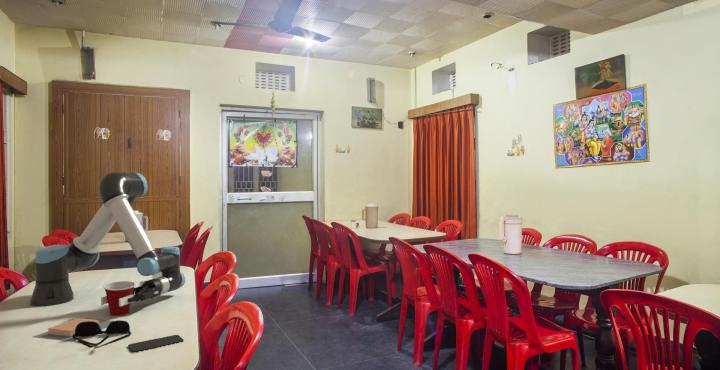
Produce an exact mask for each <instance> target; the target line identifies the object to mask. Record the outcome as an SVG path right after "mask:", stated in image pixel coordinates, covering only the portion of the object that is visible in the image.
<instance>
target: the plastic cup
mask: <svg viewBox="0 0 720 370" xmlns="http://www.w3.org/2000/svg"><path fill="white" fill-rule="evenodd" d="M135 286H136V283H135V282H133V281H130V280H128V281H127V280H123V281H121V280H120V281H113V282H109V283H106V284H104V285H103V287H102V288H103V289H104V291H105V296H107V300H108V303H107V305H108V310H109V313H110V316H112V317H118V316H123V315H127V314H129V313H130V306H131V303H129V304H126V305H123V306H119V299H121V298H124V297H127V296H130V295H132V292H133V289H134V288H135Z"/></svg>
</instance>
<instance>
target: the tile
mask: <svg viewBox="0 0 720 370" xmlns="http://www.w3.org/2000/svg"><path fill="white" fill-rule="evenodd" d="M92 319H93V318H90V319H85V318H82V317H81V318H80V317H78V318H73V319H72V320H69V321H65V322H63V323H60V324H57V325H54V326H51V327H48V329H47V330H48V331H47V332H48V334H49V335H55V336H64V337H72V336H73V334H75V328H76V326H77V325H78V324H79V323H81V322H86V321H94V322H97V323H98V324H99V320H92Z"/></svg>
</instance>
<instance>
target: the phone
mask: <svg viewBox="0 0 720 370" xmlns="http://www.w3.org/2000/svg"><path fill="white" fill-rule="evenodd" d="M179 342H181V343H183V342H184V339H183V338H182V336H180V335H179V334H174V335H173V334H172V335H168V336H163V337H158V338H154V339H149V340H143V341H139V342H138V341H137V342H134V343H130V344H127V345H128V346H127V348H128V349H129V351H130V352H131V353H132V352H136V353H139V351H141V352H144V350H145V351H149V349H150V350H154V349H158V347H159V348H163V347H167V346H166V345H168V346H172V345H176V344H180V343H179ZM175 343H176V344H175ZM171 344H172V345H171ZM162 346H163V347H162Z"/></svg>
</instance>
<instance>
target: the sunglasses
mask: <svg viewBox="0 0 720 370" xmlns="http://www.w3.org/2000/svg"><path fill="white" fill-rule="evenodd" d="M111 321H112V322H111V323H110V324H109V325H108V327H107V328H105V330H103V329H102V330H101V328H100V326H99V324H98V323H97V322H94V321H86V322H81V323H79V324H78V325H77V326H76V328H75V334H73V336H72V337H73V338H75V339H76V340H77V343H78V344H81V345H83V346H85V347H86V348H94V347H95V346H98V348H101V347H103V346H107V345H109V344H112V343H114V342H115V343H116V342H118V341H120V340H123V339H125V338H127V337H129V336H131V335H132V331H131V326H130V324H129V322H128V321H126V320H122V319H121V320H120V319H119V320H118V319H117V320H111ZM104 334H105V335H106V334H107V335H106V336H104V337H103V339H101V340H100V341H99V342H96V343H95V342H94V343H93V342H90V341H87V340H84V339H82V338H86V337H92V336H97V335H104ZM116 334H117V335H118V334H119V335H120V334H121V335H122V334H125V335H123V336H120V337H118V338H116V339H113V340H110V341H108V342H106V343H104V342H105V341H106V340H108V339H109V338H110V335H116ZM78 337H81V338H78ZM103 343H104V344H103Z"/></svg>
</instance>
